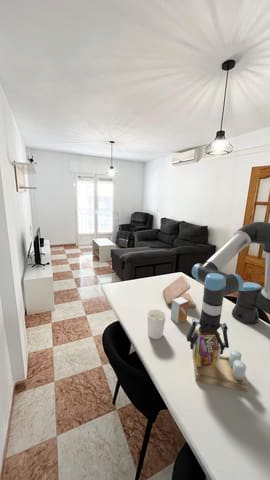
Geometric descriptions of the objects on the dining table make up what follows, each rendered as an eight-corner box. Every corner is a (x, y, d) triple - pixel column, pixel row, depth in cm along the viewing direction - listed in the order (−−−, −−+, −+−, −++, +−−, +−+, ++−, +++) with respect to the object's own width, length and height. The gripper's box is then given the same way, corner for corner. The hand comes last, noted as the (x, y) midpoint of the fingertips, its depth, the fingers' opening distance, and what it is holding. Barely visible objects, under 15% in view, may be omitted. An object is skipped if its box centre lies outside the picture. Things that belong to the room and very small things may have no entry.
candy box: (211, 357, 88) (215, 328, 85) (216, 365, 84) (221, 334, 80) (192, 358, 87) (196, 328, 84) (196, 367, 83) (200, 335, 80)
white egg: (237, 362, 88) (239, 350, 87) (240, 370, 84) (242, 358, 82) (227, 360, 89) (229, 348, 87) (229, 368, 84) (231, 356, 83)
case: (161, 293, 154) (163, 274, 151) (188, 293, 155) (189, 275, 152) (166, 308, 134) (168, 286, 131) (196, 308, 135) (199, 287, 132)
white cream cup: (149, 341, 102) (151, 321, 99) (144, 329, 111) (145, 310, 108) (167, 338, 104) (168, 318, 102) (160, 327, 114) (161, 308, 111)
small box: (177, 324, 117) (179, 304, 114) (170, 318, 122) (172, 299, 119) (187, 320, 121) (189, 300, 118) (179, 314, 126) (181, 296, 124)
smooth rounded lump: (240, 372, 82) (242, 360, 81) (246, 382, 78) (248, 369, 77) (230, 372, 83) (231, 360, 81) (234, 381, 78) (236, 369, 77)
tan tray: (237, 364, 89) (238, 359, 89) (247, 391, 77) (249, 385, 76) (192, 356, 93) (193, 351, 92) (195, 381, 81) (196, 374, 80)
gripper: (237, 309, 82) (229, 355, 86) (183, 302, 86) (178, 346, 90) (243, 320, 74) (234, 369, 79) (183, 312, 78) (179, 359, 83)
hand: (205, 357), depth 85 cm, fingers closed on candy box, 9 cm apart
